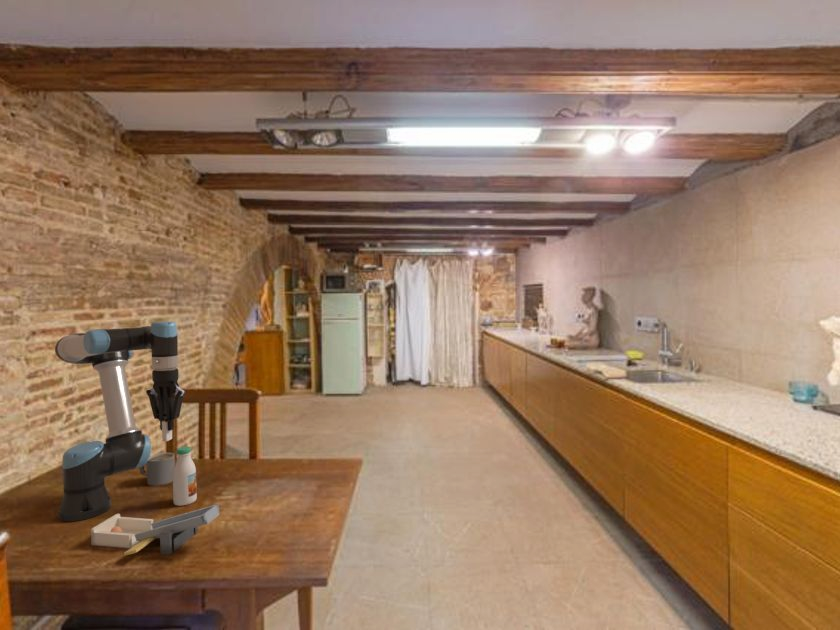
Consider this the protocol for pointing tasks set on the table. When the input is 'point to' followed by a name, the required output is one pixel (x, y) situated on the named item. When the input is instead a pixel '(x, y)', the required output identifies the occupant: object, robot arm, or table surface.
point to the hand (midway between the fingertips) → (167, 439)
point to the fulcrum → (174, 540)
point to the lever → (175, 525)
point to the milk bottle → (184, 478)
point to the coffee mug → (159, 469)
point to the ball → (116, 529)
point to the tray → (120, 540)
